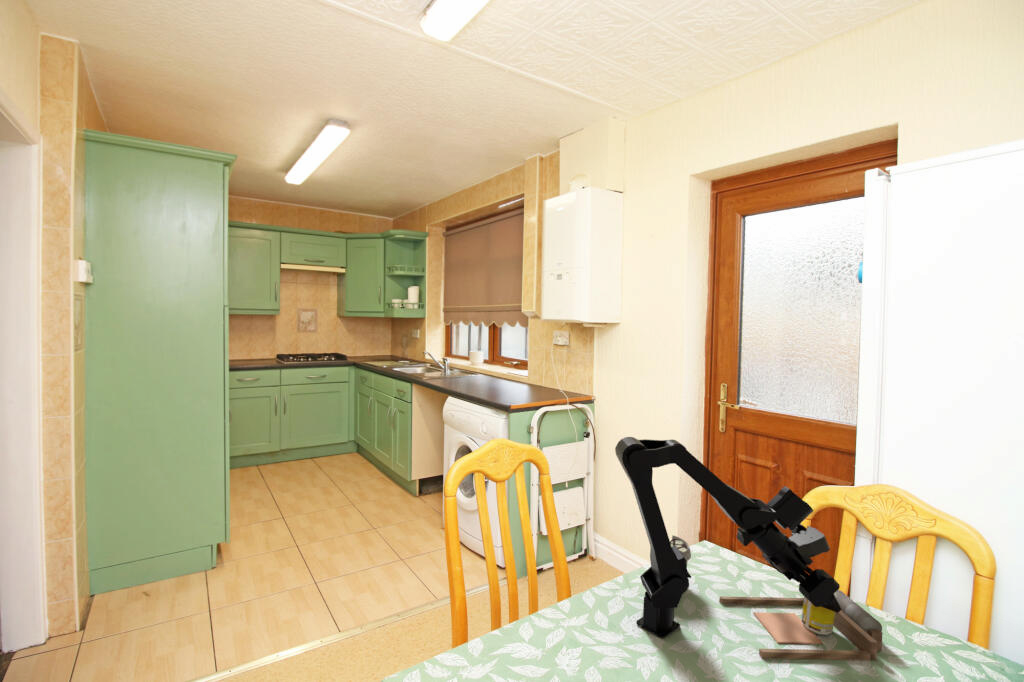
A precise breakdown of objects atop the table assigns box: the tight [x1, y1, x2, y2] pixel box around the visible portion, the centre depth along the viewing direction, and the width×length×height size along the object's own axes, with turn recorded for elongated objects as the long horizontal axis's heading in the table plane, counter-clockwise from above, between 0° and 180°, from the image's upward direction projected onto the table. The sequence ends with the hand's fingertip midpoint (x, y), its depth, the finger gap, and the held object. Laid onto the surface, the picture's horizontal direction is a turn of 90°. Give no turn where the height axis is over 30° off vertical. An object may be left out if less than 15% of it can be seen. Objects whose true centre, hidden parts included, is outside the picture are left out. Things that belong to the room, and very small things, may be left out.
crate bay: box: [719, 589, 884, 661], centre depth 105 cm, size 25×19×5 cm
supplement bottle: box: [801, 593, 837, 636], centre depth 104 cm, size 6×6×10 cm
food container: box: [670, 534, 692, 566], centre depth 119 cm, size 12×6×10 cm, turn 143°
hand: (824, 597), depth 104 cm, fingers open, 9 cm apart
